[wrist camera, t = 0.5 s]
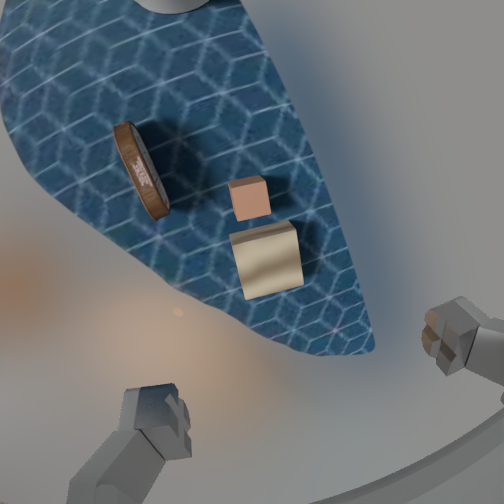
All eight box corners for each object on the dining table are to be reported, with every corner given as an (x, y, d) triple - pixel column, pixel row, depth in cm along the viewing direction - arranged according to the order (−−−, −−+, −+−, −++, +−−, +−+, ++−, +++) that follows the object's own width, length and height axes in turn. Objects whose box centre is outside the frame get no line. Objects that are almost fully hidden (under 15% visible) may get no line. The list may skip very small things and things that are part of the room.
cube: (227, 181, 48) (230, 188, 44) (259, 174, 49) (265, 181, 44) (234, 211, 50) (237, 221, 46) (264, 204, 51) (271, 213, 46)
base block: (228, 233, 52) (232, 245, 47) (287, 219, 53) (296, 229, 48) (241, 284, 56) (245, 300, 52) (295, 271, 57) (303, 284, 52)
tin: (119, 126, 42) (103, 128, 34) (137, 117, 42) (125, 117, 34) (158, 212, 48) (151, 230, 41) (176, 204, 48) (172, 221, 41)
